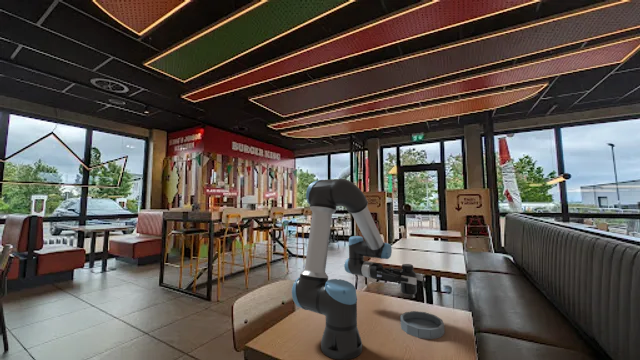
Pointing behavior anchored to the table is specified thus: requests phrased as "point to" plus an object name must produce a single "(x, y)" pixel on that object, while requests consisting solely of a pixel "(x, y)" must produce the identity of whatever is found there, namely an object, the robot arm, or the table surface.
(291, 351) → the table surface
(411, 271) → the supplement bottle
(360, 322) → the table surface
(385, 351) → the table surface
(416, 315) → the bowl
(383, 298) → the table surface
